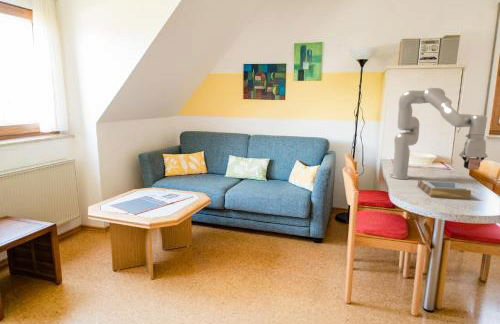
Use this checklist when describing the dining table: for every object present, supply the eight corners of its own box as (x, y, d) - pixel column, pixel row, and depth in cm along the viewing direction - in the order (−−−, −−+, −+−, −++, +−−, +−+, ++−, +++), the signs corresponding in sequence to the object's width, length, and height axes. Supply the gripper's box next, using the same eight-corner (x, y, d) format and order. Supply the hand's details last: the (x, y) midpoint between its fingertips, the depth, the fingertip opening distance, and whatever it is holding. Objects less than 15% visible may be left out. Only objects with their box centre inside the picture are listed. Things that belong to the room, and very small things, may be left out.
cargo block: (464, 167, 191) (465, 157, 190) (473, 167, 190) (475, 157, 189) (468, 169, 186) (470, 159, 185) (478, 169, 185) (479, 159, 184)
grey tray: (425, 187, 196) (425, 181, 195) (454, 189, 193) (455, 182, 192) (433, 194, 183) (434, 187, 182) (465, 196, 180) (466, 188, 179)
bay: (417, 186, 204) (418, 178, 203) (451, 188, 201) (452, 180, 200) (430, 197, 182) (431, 188, 181) (469, 199, 179) (471, 190, 178)
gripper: (463, 137, 182) (458, 168, 186) (496, 138, 180) (490, 170, 183) (456, 135, 189) (452, 166, 193) (488, 136, 187) (483, 167, 191)
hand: (471, 167), depth 188 cm, fingers closed on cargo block, 5 cm apart
